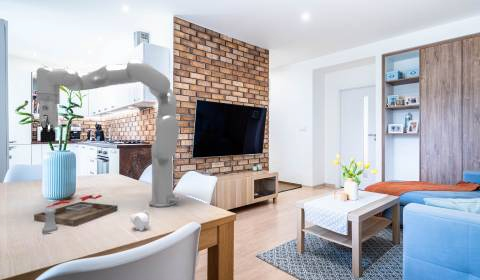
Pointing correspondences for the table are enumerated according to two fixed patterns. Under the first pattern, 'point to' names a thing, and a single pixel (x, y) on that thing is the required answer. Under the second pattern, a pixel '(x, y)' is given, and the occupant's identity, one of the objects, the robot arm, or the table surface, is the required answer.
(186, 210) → the table surface
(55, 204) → the cloth
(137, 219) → the elephant figurine
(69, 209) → the metal socket
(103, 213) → the walnut box
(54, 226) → the rook chess piece
